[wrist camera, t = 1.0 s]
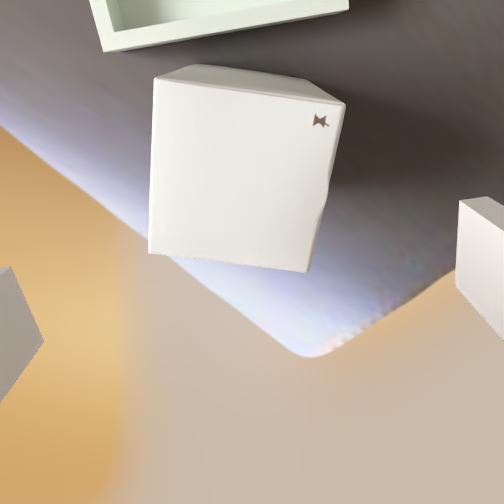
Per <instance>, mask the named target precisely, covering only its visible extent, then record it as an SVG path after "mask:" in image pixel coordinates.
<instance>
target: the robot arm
mask: <svg viewBox="0 0 504 504" xmlns="http://www.w3.org/2000/svg"><path fill="white" fill-rule="evenodd" d="M455 286H456V287H457V288H458V290H459V291H461V293H462V294H463V295H464V296H465V297H466V299H467V300H468V301H469V302H470V303H471V304H472V305H473V306H474V307H475V309H477V311H478V312H479V313H480V314H481V315H482V316H483V318H484V319H485V320H486V321H487V322H488V323H489V324H490V325H491V327H492V328H493V329H494V330H495V331H496V332H497V333H498V334H499V335H500V336H501V338H502V339H503V340H504V206H503V205H501V204H499V203H498V202H496V201H494V200H493V199H491V198H489V197H488V196H487V197H480V198H473V199H466V200H460V201H459V219H458V237H457V255H456V274H455ZM43 342H44V340H43V338H42V335H41V333H40V331H39V328H38V326H37V324H36V322H35V320H34V317H33V315H32V313H31V310H30V308H29V306H28V304H27V301H26V299H25V297H24V295H23V293H22V290H21V288H20V286H19V284H18V281H17V279H16V277H15V274H14V272H13V270H12V268H11V266H10V267H3V268H0V403H1V401H2V400H3V399H4V397H5V396H6V394H7V393H8V391H9V390H10V389H11V387H12V386H13V384H14V383H15V382H16V380H17V379H18V377H19V376H20V374H21V373H22V372H23V370H24V369H25V367H26V366H27V365H28V363H29V362H30V360H31V359H32V358H33V356H34V355H35V353H36V352H37V351H38V349H39V348H40V346H41V345H42V343H43Z"/></svg>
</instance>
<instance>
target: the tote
mask: <svg viewBox="0 0 504 504" xmlns="http://www.w3.org/2000/svg"><path fill="white" fill-rule="evenodd" d="M89 1H90V5H91V8H92V12H93V16H94V19H95V23H96V26H97V30H98V34H99V37H100V41H101V45H102V48H103V52H121V51H127V50H132V49H138V48H144V47H150V46H155V45H161V44H167V43H173V42H178V41H184V40H190V39H196V38H201V37H207V36H213V35H218V34H224V33H230V32H236V31H241V30H247V29H253V28H259V27H264V26H270V25H276V24H282V23H287V22H293V21H299V20H305V19H310V18H316V17H322V16H328V15H333V14H338V13H340V12H343V11H346V10H348V9H349V0H89Z"/></svg>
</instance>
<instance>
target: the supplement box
mask: <svg viewBox="0 0 504 504" xmlns="http://www.w3.org/2000/svg"><path fill="white" fill-rule="evenodd" d="M345 109H346V105H345V103H343V102H341V101H339V100H338V99H336V98H334V97H333V96H331V95H330V94H328V93H326V92H325V91H323V90H322V89H320V88H319V87H317V86H315V85H314V84H312V83H311V82H309V81H307V80H306V79H301V78H295V77H289V76H283V75H277V74H271V73H265V72H258V71H252V70H245V69H238V68H231V67H225V66H216V65H207V64H193V65H190V66H187V67H185V68H182V69H179V70H176V71H174V72H170V73H168V74H165V75H161V76H158V77H155V78H154V93H153V121H152V147H151V175H150V205H149V244H148V252H149V253H150V254H161V255H168V256H176V257H185V258H194V259H204V260H212V261H220V262H229V263H236V264H244V265H252V266H259V267H266V268H274V269H282V270H290V271H297V272H304V273H308V272H309V271H310V267H311V263H312V258H313V254H314V249H315V245H316V240H317V236H318V231H319V227H320V222H321V218H322V213H323V209H324V206H325V203H326V200H327V196H328V189H329V182H330V177H331V173H332V168H333V163H334V159H335V154H336V150H337V146H338V141H339V137H340V133H341V128H342V123H343V118H344V114H345Z"/></svg>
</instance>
